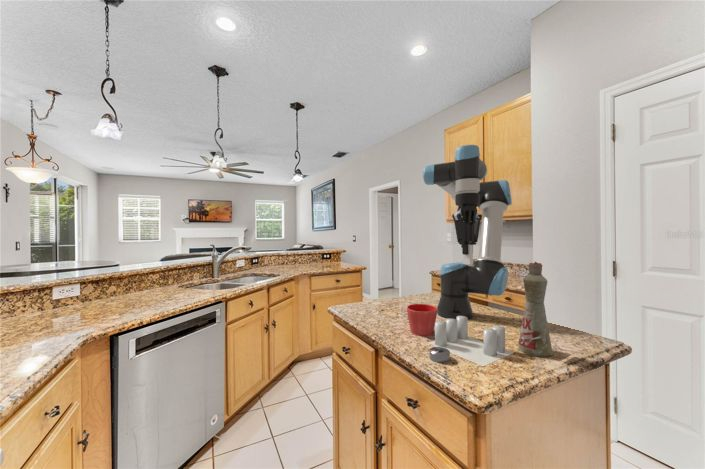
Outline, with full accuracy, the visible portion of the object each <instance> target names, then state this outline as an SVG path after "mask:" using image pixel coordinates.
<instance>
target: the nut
mask: <svg viewBox="0 0 705 469" xmlns="http://www.w3.org/2000/svg"><path fill="white" fill-rule="evenodd" d="M429 360H431V361H432V362H434V363H437V364H447V363H449V362H450V361H451V353H450V351H449V350H448V349H446V348H442V347H436V346H433V347H431V348H429Z"/></svg>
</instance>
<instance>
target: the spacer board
mask: <svg viewBox="0 0 705 469" xmlns="http://www.w3.org/2000/svg"><path fill="white" fill-rule="evenodd" d="M468 320H469V318H467V317H466V316H457V317H456V319H451V318H446V319H445V321H441V320H439V321H437V320H436V322H435V326H434V340H431V341H428V342H427V344H429V345H431V346H433V347H442V348H446V349H448V350H449V351H450V354H453V355H455V356H457V357H460V358H462V359H465V360H467V361H470V363H471V362H472V363H473V364H477V365H479V366H480V367H485V366H488V365H490V364H491V363H495V362H496V361H500V360H501V359H503V358H505V357H508V356H510V355H512V354H514V353H515V352H514V351H512V350H508V349H506V328H505V327H504V326H500V325H493V326H491V328H483V332H482V333H483V339H482V340H483V341H482V340H479V339H477V338H473V337H471V336H469V335H468V334H469V332H468V331H469V329H468V325H469V324H468Z"/></svg>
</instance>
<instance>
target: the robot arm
mask: <svg viewBox="0 0 705 469" xmlns="http://www.w3.org/2000/svg"><path fill="white" fill-rule="evenodd" d="M480 156H481V153H480V147H479V146H478V145H476V144H465V145H461V146H458V147H457V148H456V149H455V153H454V161H450V162H443V163H435V164H434V163H433V164H430V165H425V167H424V168H423V171H422V178H423V182H424V184H425V185H427V186H431V185H432V186H433V185H437V186H438V187H439V188H441V189H442V190H444V192H446V193H448V194H449V195H450V197H451V199H452V200H454V202H455V206H457V211H456V212H455V213H453V214H452V215H451V218H452V219H453V223H454V229H455V233H456V240H457V243H458V244H459V245H460V246H462V247H461V249H462V262H461V261H460V262H449V263H444V264H442V265H441V266H440V267H441V268H440V274H439V276H440V298H439V300H438V304H437V307H436V308H437V315H438V316H440V317H443V318H446V319H449V318H451V319H456V317H457V316H466V317H467V318H468V319H471V318H472V317H473V315H474V312H473V309H472V306H471V305H472V304H471V301H470V299H469V294H470V293H471V294H478V295H486V296H487V295H488V296H490V297H491V296H498V297H499V296H502V295H504V293H505V291H506V288H507V284H508V276H509V270H508V268H507V267H505V264H504V262H502V260H501V257H502V256H501V255H502V242H503V240H502V238H503V225H504V213H505V212H506V211H507V210H508V207H509V206H512V203H513V201H512V192H511V188H510V186H511V185H510V183H509V181H508V180H505V179H502V180H499V179H498V180H497V179H496V180H492V181H482V180H483V179H485V177H486V175H487V173H488V168H487V164H486V163H485V162H484V161H483V160H482V159H481V158H480ZM481 181H482V182H481ZM478 208H479V209H480V211H482V214H479V213H478ZM480 226H481V227H480ZM479 234H480V239H479ZM478 239H479V250H478V251H479V252H478V258H477V259H475V260H474V259H473V257H474V245H477V243H478ZM456 320H457V319H456Z"/></svg>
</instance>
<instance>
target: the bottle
mask: <svg viewBox="0 0 705 469" xmlns="http://www.w3.org/2000/svg"><path fill="white" fill-rule="evenodd" d="M528 267H529V268H528V274H526V275H525V276H524V277H523V280H522V281H523V287H524V294H525V300H526V301H525V303H524V308H523V314H522V315H523V316H522V319H521V320H522V321H521V327H520V332H519V339H518V343H517V348H518V350H519V351H520V352H522V353H523V354H526V355H527V356H528V355H529V356H532V357H537V358H548V357H551V356H552V355H553V354H554V352H553V347H552V346H553V345H552V342H551V337H550V331H549V325H548V320H547V319H548V318H547V314H546V308H545V303H544V302H545V297H546V293H547V292H546V291H547V286H548V279H547V278H545V276H544V275H543V274H542V271H543V264H542V263H540V262H537V261H534V262H529V263H528Z"/></svg>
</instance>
